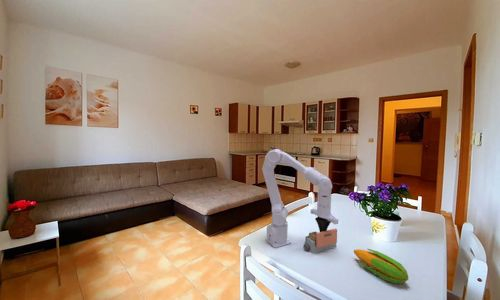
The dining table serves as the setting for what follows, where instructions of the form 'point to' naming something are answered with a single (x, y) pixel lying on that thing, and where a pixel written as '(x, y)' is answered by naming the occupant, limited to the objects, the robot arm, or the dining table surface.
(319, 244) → the thick rectangular slab
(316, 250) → the grey boxy piece
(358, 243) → the dining table surface
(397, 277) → the corn
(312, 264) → the dining table surface
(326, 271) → the dining table surface
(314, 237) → the block
